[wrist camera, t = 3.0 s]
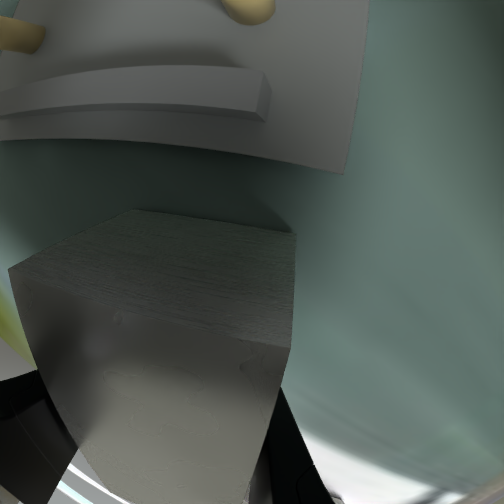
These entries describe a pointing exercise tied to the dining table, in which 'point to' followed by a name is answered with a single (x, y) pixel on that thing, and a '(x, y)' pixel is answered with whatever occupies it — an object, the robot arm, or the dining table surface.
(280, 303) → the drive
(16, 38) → the tray
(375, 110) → the dining table surface
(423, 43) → the dining table surface
